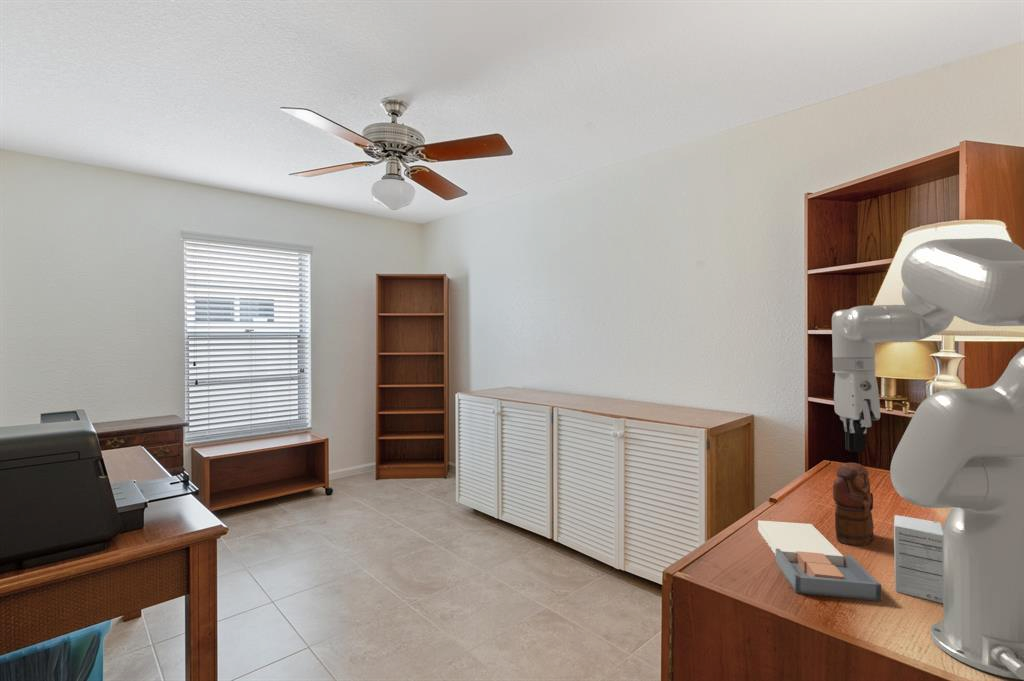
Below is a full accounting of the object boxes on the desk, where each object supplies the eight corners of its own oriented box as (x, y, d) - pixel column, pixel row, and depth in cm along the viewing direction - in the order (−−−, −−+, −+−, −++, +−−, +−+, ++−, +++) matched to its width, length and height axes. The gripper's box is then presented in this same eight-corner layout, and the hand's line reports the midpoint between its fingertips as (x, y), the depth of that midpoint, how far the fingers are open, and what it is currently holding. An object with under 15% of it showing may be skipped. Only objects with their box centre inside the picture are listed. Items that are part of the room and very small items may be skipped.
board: (843, 567, 101) (843, 556, 101) (780, 562, 104) (780, 551, 104) (811, 533, 118) (811, 524, 118) (758, 529, 121) (757, 520, 121)
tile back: (832, 575, 97) (832, 564, 97) (804, 572, 98) (804, 561, 98) (823, 564, 101) (823, 553, 101) (796, 561, 103) (796, 551, 103)
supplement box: (894, 576, 97) (894, 513, 97) (944, 588, 92) (943, 522, 92) (894, 591, 91) (893, 525, 91) (946, 605, 86) (946, 534, 86)
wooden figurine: (863, 550, 109) (862, 470, 109) (830, 541, 114) (830, 465, 114) (878, 536, 117) (877, 461, 117) (847, 528, 122) (846, 456, 121)
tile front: (844, 588, 92) (844, 576, 92) (814, 585, 93) (814, 573, 93) (834, 576, 96) (834, 565, 96) (806, 573, 98) (806, 562, 98)
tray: (881, 601, 88) (881, 584, 88) (796, 592, 91) (795, 577, 91) (849, 568, 100) (849, 554, 100) (775, 562, 104) (775, 548, 103)
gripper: (893, 367, 97) (895, 459, 96) (855, 365, 111) (856, 444, 111) (851, 367, 98) (854, 458, 98) (819, 365, 113) (821, 444, 112)
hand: (855, 450), depth 104 cm, fingers closed
